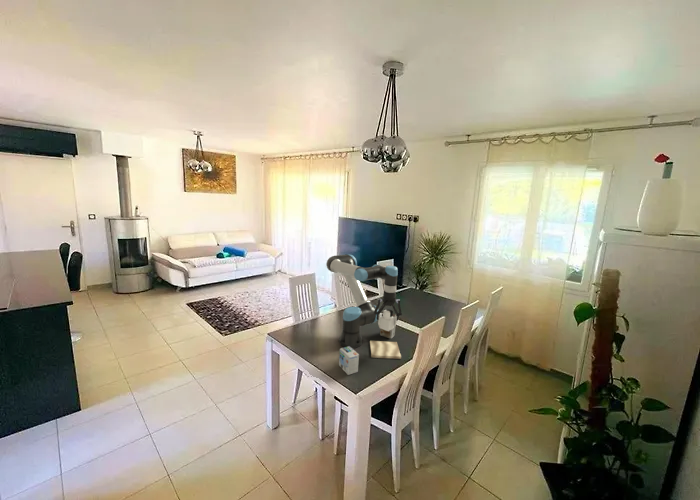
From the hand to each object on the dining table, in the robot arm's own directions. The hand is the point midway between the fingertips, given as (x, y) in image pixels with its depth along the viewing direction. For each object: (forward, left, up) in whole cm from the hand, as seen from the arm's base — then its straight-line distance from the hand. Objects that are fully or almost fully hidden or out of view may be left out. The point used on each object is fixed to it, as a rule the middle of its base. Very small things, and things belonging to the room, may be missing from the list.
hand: (386, 324), depth 188 cm
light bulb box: (-23, -22, -18) cm, 37 cm away
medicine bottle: (0, 0, -2) cm, 2 cm away
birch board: (0, 0, -17) cm, 17 cm away
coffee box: (+4, +21, -18) cm, 27 cm away
